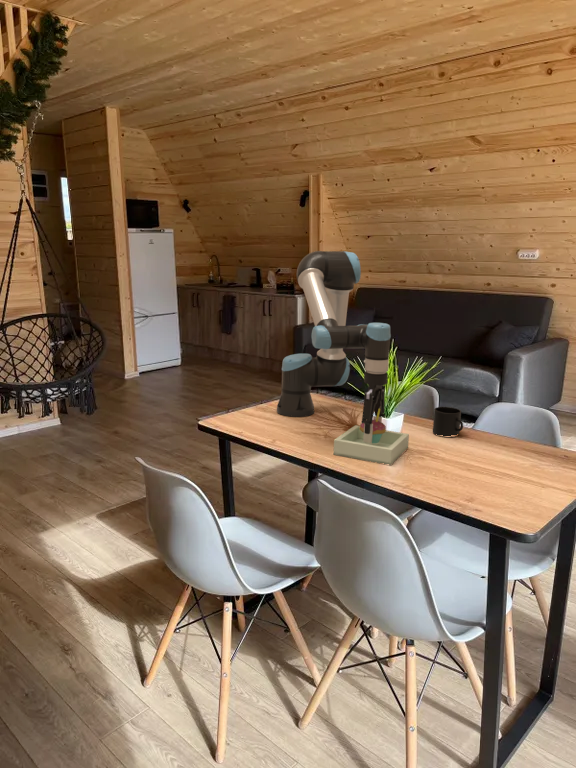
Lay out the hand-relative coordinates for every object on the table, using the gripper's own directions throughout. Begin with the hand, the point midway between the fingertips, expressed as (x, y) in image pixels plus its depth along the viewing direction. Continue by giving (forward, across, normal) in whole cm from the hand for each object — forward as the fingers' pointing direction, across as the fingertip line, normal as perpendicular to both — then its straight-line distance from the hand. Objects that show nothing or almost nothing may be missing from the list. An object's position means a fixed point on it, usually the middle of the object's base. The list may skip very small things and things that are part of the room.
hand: (372, 438), depth 199 cm
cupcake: (+1, 0, 0) cm, 1 cm away
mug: (+5, -32, +18) cm, 37 cm away
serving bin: (+4, 0, 0) cm, 4 cm away
